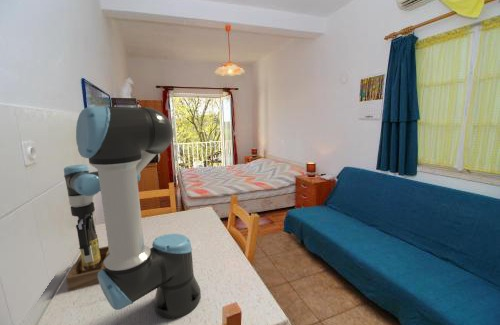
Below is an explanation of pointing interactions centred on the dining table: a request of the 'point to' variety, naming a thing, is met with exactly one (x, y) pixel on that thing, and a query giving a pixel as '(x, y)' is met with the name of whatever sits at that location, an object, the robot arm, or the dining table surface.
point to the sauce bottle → (95, 250)
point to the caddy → (86, 272)
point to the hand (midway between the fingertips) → (91, 257)
